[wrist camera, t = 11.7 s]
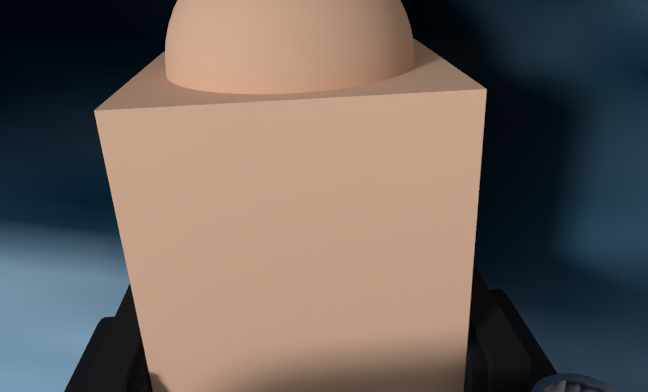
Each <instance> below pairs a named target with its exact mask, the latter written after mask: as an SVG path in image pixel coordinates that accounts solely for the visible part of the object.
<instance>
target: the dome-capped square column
mask: <svg viewBox="0 0 648 392" xmlns="http://www.w3.org/2000/svg"><path fill="white" fill-rule="evenodd" d="M486 92H487V89H486V88H485V87H483V86H482V85H480V84H479V83H477V82H476V81H474V80H473V79H472V78H470V77H469V76H467V75H466V74H464V73H463V72H462V71H460V70H459V69H457V68H456V67H454V66H453V65H451V64H450V63H449V62H447V61H446V60H444V59H443V58H441V57H440V56H439V55H437V54H436V53H434V52H433V51H431V50H430V49H428V48H427V47H426V46H424V45H423V44H421V43H420V42H418V41H417V40H416V39H413V36H412V31H411V26H410V23H409V20H408V17H407V14H406V11H405V9H404V7H403V4H402V2H401V0H178V1H177V3H176V5H175V7H174V9H173V12H172V16H171V19H170V22H169V25H168V31H167V36H166V44H165V52H163V53H162V54H161V55H159V56H158V57H157V58H156V59H155V60H154V61H152V62H151V63H150V64H149V65H148V66H146V67H145V68H144V69H143V70H142V71H141V72H139V73H138V74H137V75H136V76H135V77H133V78H132V79H131V80H130V81H129V82H128V83H126V84H125V85H124V86H123V87H122V88H120V89H119V90H118V91H117V92H116V93H114V94H113V95H112V96H111V97H110V98H109V99H107V100H106V101H105V102H104V103H103V104H101V105H100V106H99V107H98V108H97V109H96V110H94V113H95V117H96V122H97V127H98V132H99V137H100V141H101V146H102V151H103V156H104V160H105V165H106V170H107V175H108V180H109V184H110V189H111V194H112V199H113V203H114V208H115V213H116V218H117V222H118V227H119V232H120V237H121V242H122V246H123V251H124V256H125V261H126V265H127V270H128V275H129V280H130V284H131V289H132V294H133V299H134V304H135V308H136V313H137V318H138V323H139V327H140V332H141V337H142V342H143V347H144V351H145V356H146V361H147V366H148V370H149V375H150V380H151V385H152V389H153V392H463V391H464V378H465V365H466V352H467V342H468V328H469V315H470V302H471V289H472V276H473V263H474V250H475V237H476V223H477V210H478V197H479V184H480V171H481V158H482V145H483V132H484V118H485V105H486Z"/></svg>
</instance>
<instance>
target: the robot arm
mask: <svg viewBox="0 0 648 392" xmlns="http://www.w3.org/2000/svg"><path fill="white" fill-rule="evenodd" d="M64 392H153V389H152V385H151V380H150V375H149V370H148V366H147V361H146V356H145V351H144V347H143V342H142V337H141V332H140V327H139V323H138V318H137V313H136V308H135V304H134V299H133V294H132V289H131V284H130V285H129V287H128V289H127V291H126V293H125V296H124V298H123V300H122V302H121V304H120V307H119V309H118V311H117V313H116V315H115V317H105V318H103V319H101V320H100V322H99V323H98V325H97V327H96V329H95V331H94V333H93V335H92V337H91V339H90V341H89V343H88V345H87V347H86V349H85V351H84V353H83V355H82V357H81V359H80V361H79V363H78V365H77V367H76V369H75V371H74V373H73V375H72V377H71V379H70V381H69V383H68V385H67V387H66V389H65V391H64ZM463 392H619V391H618V390H616V389H614V388H613V387H611V386H609V385H608V384H606V383H604V382H602V381H599V380H596V379H594V378H591V377H588V376H583V375H577V374H571V373H569V374H557V372H556V371H555V369H554V368H553V366H552V364H551V363H550V361H549V360H548V358H547V357H546V355H545V354H544V352H543V351H542V349H541V347H540V346H539V344H538V343H537V341H536V340H535V338H534V337H533V335H532V333H531V332H530V330H529V329H528V327H527V326H526V324H525V323H524V321H523V320H522V318H521V316H520V315H519V313H518V312H517V310H516V309H515V307H514V306H513V304H512V302H511V301H510V299H509V298H508V296H507V295H506V294H505V292H504V291H503V290H500V289H495V290H489V288H488V287H487V285H486V283H485V282H484V280H483V278H482V277H481V275H480V273H479V272H478V270H477V268H476V267H475V265H474V264H473V276H472V289H471V302H470V315H469V328H468V342H467V352H466V365H465V378H464V391H463Z"/></svg>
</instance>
